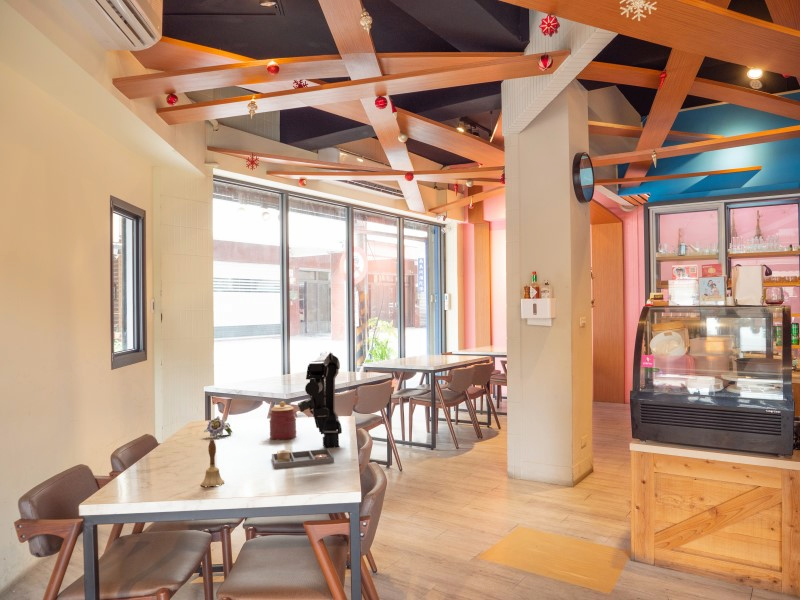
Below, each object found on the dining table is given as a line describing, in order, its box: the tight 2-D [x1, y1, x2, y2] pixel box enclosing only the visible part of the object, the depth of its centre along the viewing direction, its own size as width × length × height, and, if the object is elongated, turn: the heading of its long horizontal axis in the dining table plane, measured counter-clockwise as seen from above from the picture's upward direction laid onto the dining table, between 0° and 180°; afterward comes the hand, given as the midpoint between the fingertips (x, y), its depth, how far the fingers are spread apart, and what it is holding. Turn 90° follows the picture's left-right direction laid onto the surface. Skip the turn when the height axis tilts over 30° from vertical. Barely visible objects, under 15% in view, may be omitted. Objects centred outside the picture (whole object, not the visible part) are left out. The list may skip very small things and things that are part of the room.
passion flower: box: [203, 415, 233, 439], centre depth 296 cm, size 11×11×12 cm
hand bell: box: [200, 439, 225, 487], centre depth 211 cm, size 8×8×16 cm
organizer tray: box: [271, 448, 335, 470], centre depth 238 cm, size 23×16×2 cm
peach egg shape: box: [315, 454, 327, 459], centre depth 240 cm, size 5×5×1 cm
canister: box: [268, 400, 297, 440], centre depth 288 cm, size 13×13×18 cm
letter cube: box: [276, 449, 290, 463], centre depth 236 cm, size 4×4×5 cm
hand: (319, 429), depth 241 cm, fingers open, 9 cm apart
